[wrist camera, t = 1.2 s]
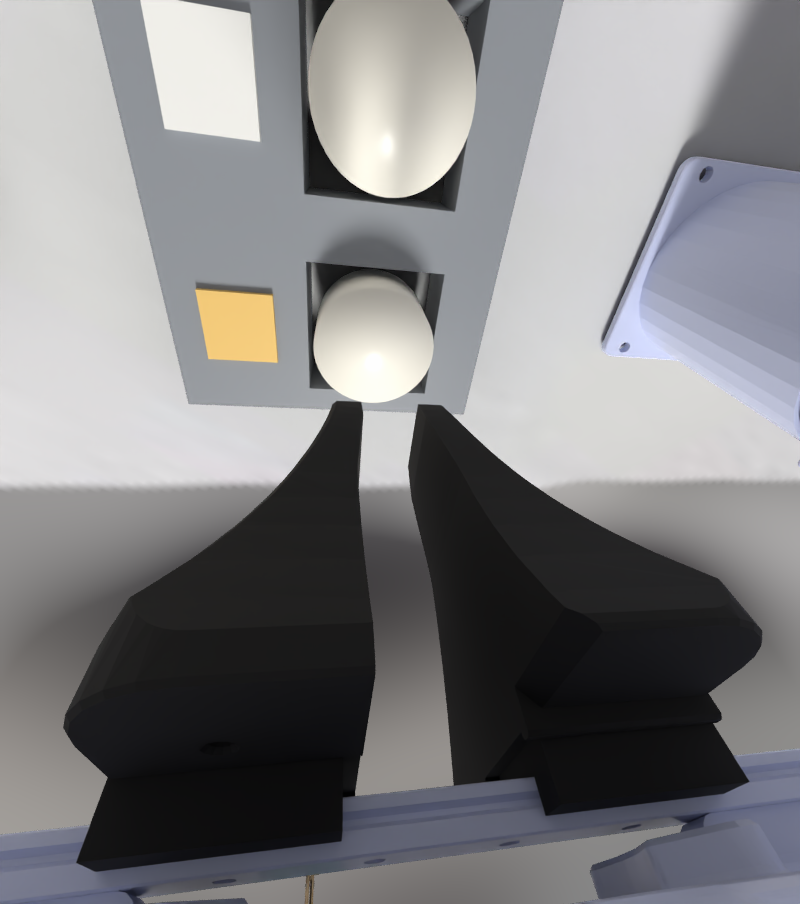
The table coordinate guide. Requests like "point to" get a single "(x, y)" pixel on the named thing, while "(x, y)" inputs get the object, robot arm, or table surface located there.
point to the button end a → (372, 337)
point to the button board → (305, 192)
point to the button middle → (392, 92)
